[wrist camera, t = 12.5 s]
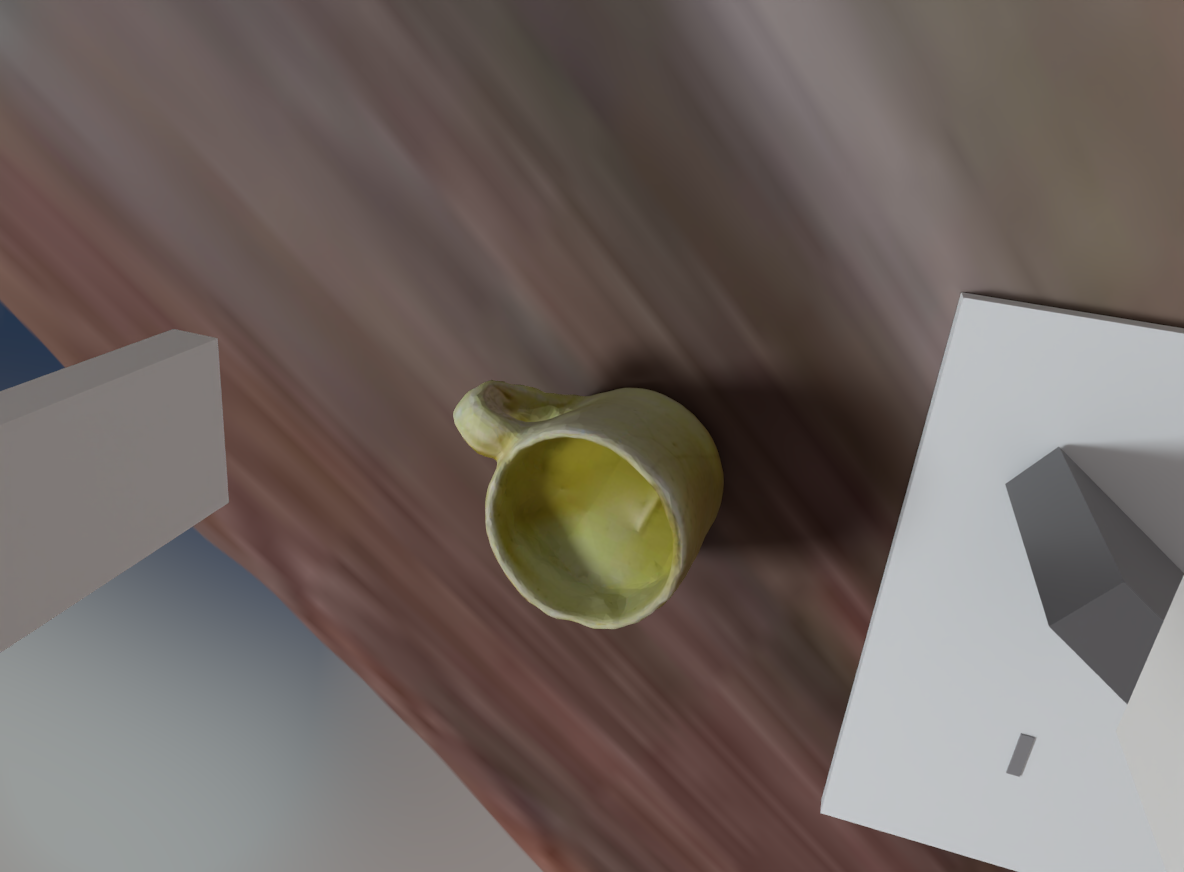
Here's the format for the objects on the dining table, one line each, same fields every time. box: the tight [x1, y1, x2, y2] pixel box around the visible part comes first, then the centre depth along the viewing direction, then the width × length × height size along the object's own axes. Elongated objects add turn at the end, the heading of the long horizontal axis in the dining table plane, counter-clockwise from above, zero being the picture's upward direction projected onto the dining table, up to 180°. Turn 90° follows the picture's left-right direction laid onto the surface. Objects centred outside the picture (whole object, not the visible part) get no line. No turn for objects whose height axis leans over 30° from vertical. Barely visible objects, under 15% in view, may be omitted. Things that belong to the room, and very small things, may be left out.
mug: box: [453, 380, 724, 629], centre depth 40 cm, size 12×10×10 cm
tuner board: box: [821, 292, 1184, 872], centre depth 39 cm, size 28×22×1 cm
